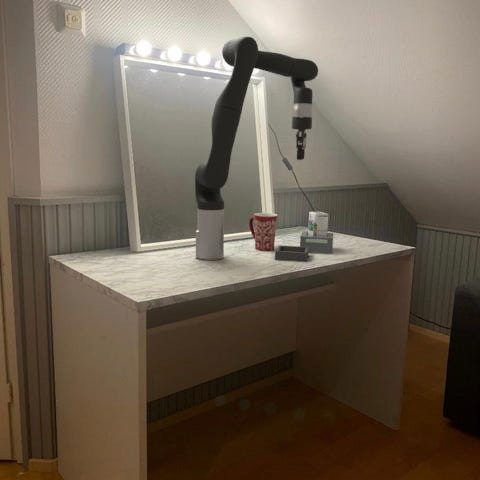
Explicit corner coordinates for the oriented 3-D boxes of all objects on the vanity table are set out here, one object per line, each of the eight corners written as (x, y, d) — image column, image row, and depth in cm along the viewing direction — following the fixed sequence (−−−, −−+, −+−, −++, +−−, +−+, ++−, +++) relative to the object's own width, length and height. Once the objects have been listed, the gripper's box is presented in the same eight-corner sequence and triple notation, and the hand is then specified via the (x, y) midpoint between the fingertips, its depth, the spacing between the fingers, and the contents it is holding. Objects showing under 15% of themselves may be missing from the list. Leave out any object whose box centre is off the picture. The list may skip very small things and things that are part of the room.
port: (299, 252, 185) (300, 236, 184) (302, 246, 197) (302, 231, 196) (332, 254, 183) (333, 238, 182) (332, 247, 195) (333, 232, 194)
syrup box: (306, 248, 192) (308, 211, 189) (320, 247, 194) (321, 211, 191) (313, 251, 187) (315, 213, 184) (327, 250, 189) (329, 213, 186)
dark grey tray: (274, 259, 172) (275, 251, 171) (278, 253, 182) (278, 245, 182) (306, 261, 170) (306, 253, 169) (308, 255, 180) (308, 247, 180)
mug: (281, 249, 190) (282, 214, 187) (264, 252, 184) (265, 216, 181) (258, 244, 199) (259, 211, 196) (242, 247, 193) (242, 212, 190)
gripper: (294, 117, 196) (292, 159, 199) (290, 115, 182) (289, 159, 185) (313, 117, 194) (311, 159, 197) (311, 115, 181) (309, 160, 184)
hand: (300, 159), depth 191 cm, fingers open, 8 cm apart
